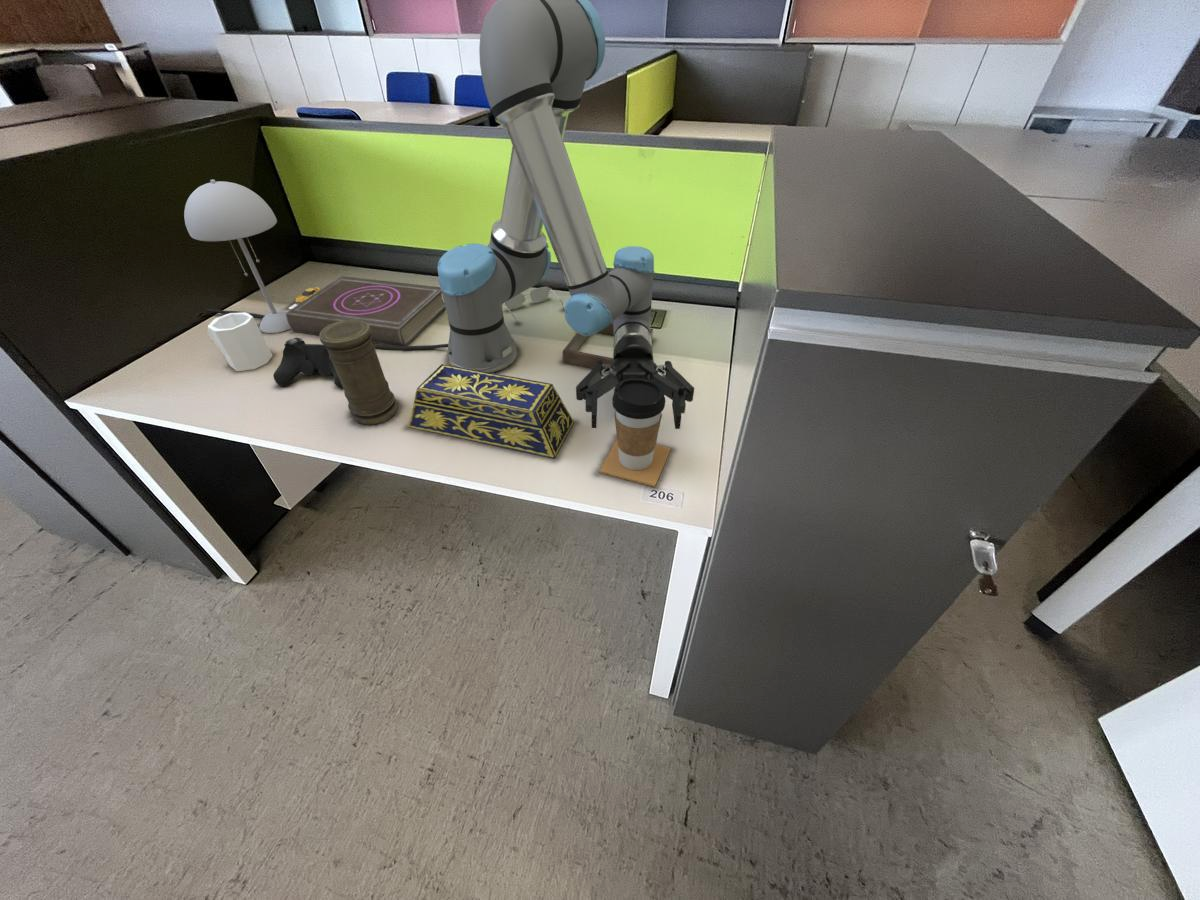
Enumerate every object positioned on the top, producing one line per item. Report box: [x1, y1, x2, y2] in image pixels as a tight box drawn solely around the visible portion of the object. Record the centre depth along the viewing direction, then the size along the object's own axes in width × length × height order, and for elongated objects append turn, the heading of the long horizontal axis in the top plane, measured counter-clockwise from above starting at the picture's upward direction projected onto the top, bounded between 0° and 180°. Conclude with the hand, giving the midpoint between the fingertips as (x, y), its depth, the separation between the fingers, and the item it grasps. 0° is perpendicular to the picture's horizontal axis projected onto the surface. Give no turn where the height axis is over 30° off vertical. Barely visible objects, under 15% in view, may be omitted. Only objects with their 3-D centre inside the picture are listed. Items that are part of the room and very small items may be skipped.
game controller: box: [272, 336, 343, 389], centre depth 110 cm, size 16×7×10 cm, turn 86°
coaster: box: [598, 438, 671, 488], centre depth 92 cm, size 10×10×1 cm
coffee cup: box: [612, 378, 666, 471], centre depth 86 cm, size 8×8×15 cm
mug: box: [206, 311, 273, 372], centre depth 114 cm, size 12×9×10 cm
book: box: [286, 275, 446, 346], centre depth 130 cm, size 30×22×5 cm
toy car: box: [287, 286, 322, 310], centre depth 138 cm, size 4×8×2 cm, turn 164°
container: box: [319, 320, 399, 426], centre depth 97 cm, size 9×9×18 cm
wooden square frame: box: [562, 322, 654, 369], centre depth 118 cm, size 16×16×3 cm
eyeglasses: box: [502, 286, 565, 325], centre depth 133 cm, size 14×8×4 cm, turn 122°
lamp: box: [183, 179, 292, 334], centre depth 119 cm, size 17×17×33 cm
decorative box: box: [408, 363, 575, 459], centre depth 97 cm, size 11×30×9 cm, turn 72°
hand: (636, 422), depth 84 cm, fingers open, 13 cm apart
